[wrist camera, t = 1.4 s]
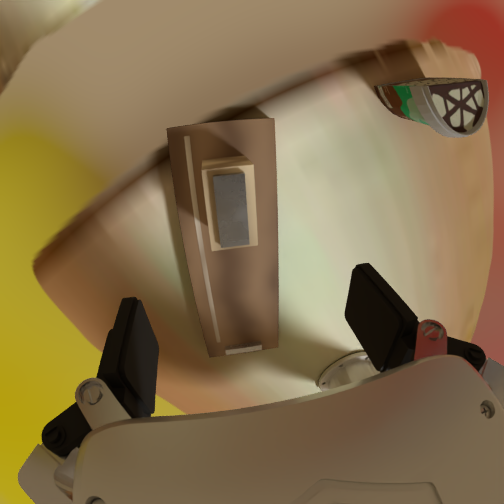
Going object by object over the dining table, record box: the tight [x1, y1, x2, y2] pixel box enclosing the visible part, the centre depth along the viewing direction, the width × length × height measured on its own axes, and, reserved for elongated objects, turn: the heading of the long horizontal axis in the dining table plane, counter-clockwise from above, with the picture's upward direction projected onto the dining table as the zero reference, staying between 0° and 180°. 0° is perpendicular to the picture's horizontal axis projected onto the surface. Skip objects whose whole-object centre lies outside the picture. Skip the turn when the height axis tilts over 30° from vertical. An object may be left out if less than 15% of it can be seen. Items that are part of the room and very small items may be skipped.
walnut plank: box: [167, 118, 279, 357], centre depth 30 cm, size 10×30×3 cm, turn 3°
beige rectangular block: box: [202, 156, 258, 251], centre depth 24 cm, size 4×7×6 cm, turn 4°
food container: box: [374, 78, 489, 138], centre depth 21 cm, size 12×6×10 cm, turn 112°
